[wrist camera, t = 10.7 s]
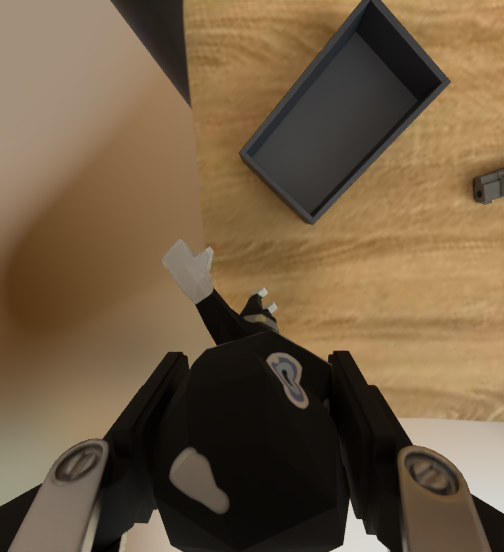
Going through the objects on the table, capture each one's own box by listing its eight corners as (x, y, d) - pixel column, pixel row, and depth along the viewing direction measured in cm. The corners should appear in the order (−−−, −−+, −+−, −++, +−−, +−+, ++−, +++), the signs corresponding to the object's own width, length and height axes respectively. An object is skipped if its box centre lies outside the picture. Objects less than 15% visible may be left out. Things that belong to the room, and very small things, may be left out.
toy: (338, 349, 20) (516, 689, 6) (274, 381, 21) (290, 736, 7) (249, 206, 18) (173, 173, 3) (183, 250, 19) (-86, 368, 5)
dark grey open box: (243, 161, 31) (238, 152, 26) (354, 25, 27) (371, -12, 22) (307, 223, 32) (312, 225, 28) (423, 102, 28) (451, 81, 24)
